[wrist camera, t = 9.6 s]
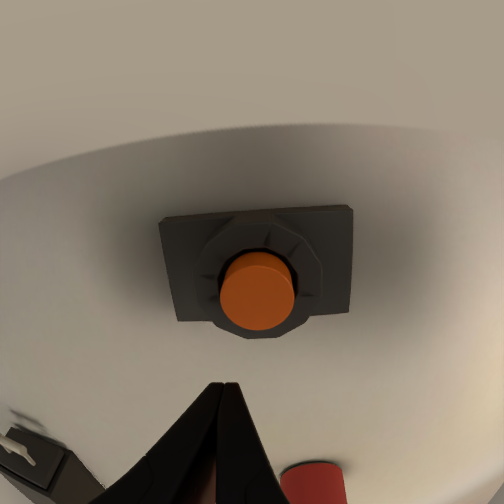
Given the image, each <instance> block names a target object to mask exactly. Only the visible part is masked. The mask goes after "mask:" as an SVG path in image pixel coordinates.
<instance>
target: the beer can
mask: <svg viewBox="0 0 504 504" xmlns="http://www.w3.org/2000/svg"><path fill="white" fill-rule="evenodd" d="M280 486H281V489H282V490H283V492H284V494H285V495H286V497H287V498H288V500H289V502H290V503H291V504H347V499H346V492H345V486H344V480H343V474H342V470H341V469H340V468H339V467H338V466H337V465H334V464H331V463H325V462H313V463H307V464H302V465H299V466H295V467H293V468H291V469H289V470H287V471H286V472H285V473H284V474H283V475H282V477H281V480H280Z"/></svg>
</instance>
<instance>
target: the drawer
mask: <svg viewBox="0 0 504 504" xmlns="http://www.w3.org/2000/svg"><path fill="white" fill-rule="evenodd" d="M63 455H64V451H63V450H62V449H61V448H60V447H57V446H54V445H52V444H49V443H47V442H44V441H42V440H39V439H37V438H35V437H32V436H30V435H28V434H26V433H23V432H21V431H19V430H17V429H15V428H13V427H11V428H10V430H9V431H8V433H7V434H6V436H4V435H2V434H0V464H1V465H2V466H4V467H5V469H6V470H8V471H10V472H11V473H13V474H15V475H16V476H18V477H20V478H22V479H24V480H25V481H27V482H29V483H31V484H33V485H35V486H37V487H39V488H41V489H43V490H45V491H48V489H49V486H50V484H51V482H52V480H53V478H54V476H55V474H56V472H57V470H58V468H59V466H60V464H61V462H62V460H63V458H62V457H63Z"/></svg>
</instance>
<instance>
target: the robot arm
mask: <svg viewBox="0 0 504 504" xmlns="http://www.w3.org/2000/svg"><path fill="white" fill-rule="evenodd" d="M145 455H146V456H143V457H142V458H141V459H140V460H139V461H138V462H137V463H136V464H135V465H134V466H133V467H132V468H131V469H130V470H129V471H128V472H127V473H126V474H125V475H124V476H122V477H121V478H120V479H119V480H118V481H116V482H115V483H114V484H113V485H111V486H110V487H109V488H107V489H106V490H105V491H103V492H102V493H101V494H99V495H98V496H97V497H95V498H94V499H93V500H91V501H90V502H88V503H87V504H215V502H216V504H291V503H290V502H289V500H288V498H287V497H286V495H285V494H284V492H283V490H282V489H281V486H280V484H279V482H278V480H277V478H276V476H275V474H274V472H273V469H272V467H271V465H270V462H269V460H268V458H267V455H266V453H265V450H264V448H263V445H262V443H261V441H260V438H259V436H258V433H257V430H256V428H255V425H254V423H253V420H252V418H251V415H250V413H249V410H248V407H247V405H246V402H245V399H244V397H243V394H242V391H241V389H240V386H239V384H238V383H237V382H227V383H225V384H224V383H222V382H212V383H210V384H209V385H208V386H207V387H206V388H205V389H204V391H203V392H202V393H201V394H200V395H199V396H198V397H197V399H196V400H195V401H194V402H193V403H192V404H191V405H190V406H189V408H188V409H187V410H186V411H185V412H184V413H183V414H182V415H181V416H180V418H179V419H178V420H177V421H176V422H175V423H174V424H173V425H172V426H171V427H170V429H169V430H168V431H167V432H166V433H165V434H164V435H163V436H162V437H161V438H160V439H159V440H158V441H157V443H156V444H155V445H154V446H153V447H152V448H151V449H150V450H149V451H148V452H147V453H146V454H145Z"/></svg>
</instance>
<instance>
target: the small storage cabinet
mask: <svg viewBox="0 0 504 504" xmlns="http://www.w3.org/2000/svg"><path fill="white" fill-rule="evenodd" d="M17 430H18V429H17ZM19 431H20V430H19ZM21 432H22V431H21ZM23 433H25V432H23ZM26 434H27V433H26ZM28 435H29V434H28ZM30 436H31V435H30ZM32 437H34V436H32ZM35 438H36V437H35ZM37 439H38V438H37ZM39 440H41V439H39ZM42 441H43V440H42ZM44 442H46V441H44ZM47 443H48V442H47ZM49 444H51V443H49ZM52 445H53V444H52ZM54 446H56V445H54ZM57 447H58V446H57ZM60 448H61V447H60ZM61 449H62V450H63V451H64V455H63V457H62V458H63V460H62V462H61V464H60V466H59V468H58V470H57V472H56V474H55V476H54V478H53V480H52V482H51V484H50V486H49V489H48V491H45V490H43V489H41V488H39V487H37V486H35V485H33V484H31V483H29V482H27V481H25V480H24V479H22V478H20V477H18V476H16V475H15V474H13V473H11V472H10V471H8V470H6V469H5V467H4V466H2V465H1V464H0V473H1V474H2V475H3V476H4V477H5V478H6V479H7V480H8V481H9V482H10V483H11V484H12V485H14V486H15V487H16V488H17V489H18V490H19V491H20V492H21V493H23V494H24V495H25V496H26V497H27V498H28V499H30V500H31V501H32V502H33V503H35V504H87V503H88V502H90V501H91V500H93V499H94V498H95V497H97V496H98V495H99V494H101V493H102V492H103V491H105V489H104V488H103V487H102V486H101V485H100V483H99V482H98V481H97V480H96V479H95V478H94V477H93V476H92V475H91V473H90V472H89V471H88V470H87V469H86V468H85V467H84V465H83V464H82V463H81V462H80V461H79V459H78V458H77V457H76V456H75V454H74V453H73V452H72V451H70V450H67V449H64V448H61Z"/></svg>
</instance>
